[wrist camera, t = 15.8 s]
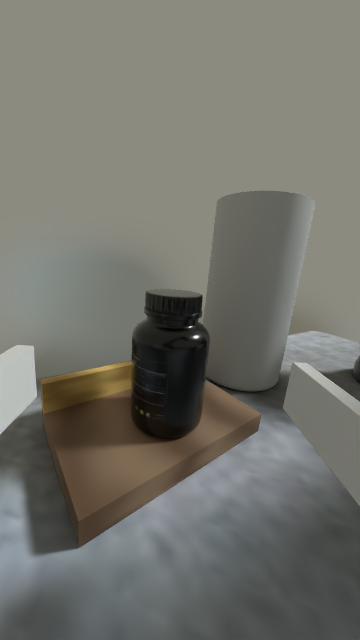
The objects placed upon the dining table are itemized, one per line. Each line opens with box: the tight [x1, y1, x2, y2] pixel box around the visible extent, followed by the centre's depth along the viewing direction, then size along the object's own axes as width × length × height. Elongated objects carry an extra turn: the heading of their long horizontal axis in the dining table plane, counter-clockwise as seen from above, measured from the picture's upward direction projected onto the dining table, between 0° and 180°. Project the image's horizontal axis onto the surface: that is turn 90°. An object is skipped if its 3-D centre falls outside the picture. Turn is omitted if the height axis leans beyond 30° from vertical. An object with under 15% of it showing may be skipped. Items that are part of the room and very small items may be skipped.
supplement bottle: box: [131, 289, 210, 439], centre depth 21 cm, size 7×7×12 cm
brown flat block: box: [40, 360, 261, 548], centre depth 23 cm, size 18×12×5 cm, turn 128°
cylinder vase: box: [203, 191, 315, 391], centre depth 35 cm, size 12×12×25 cm
